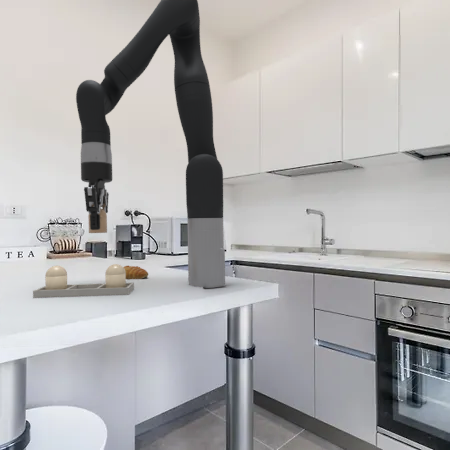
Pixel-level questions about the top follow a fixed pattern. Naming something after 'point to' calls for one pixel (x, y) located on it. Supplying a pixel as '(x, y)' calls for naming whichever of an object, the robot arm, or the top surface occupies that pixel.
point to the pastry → (135, 272)
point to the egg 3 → (115, 276)
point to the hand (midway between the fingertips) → (98, 229)
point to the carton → (83, 291)
